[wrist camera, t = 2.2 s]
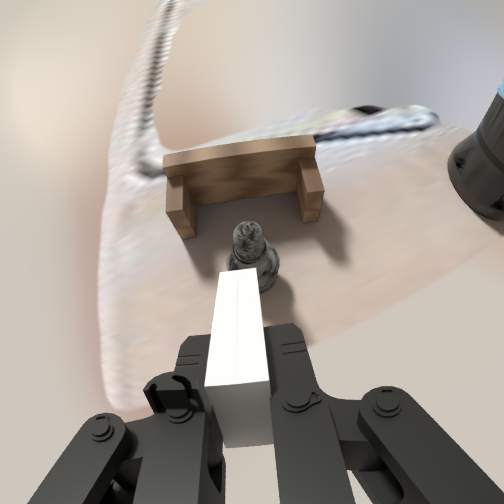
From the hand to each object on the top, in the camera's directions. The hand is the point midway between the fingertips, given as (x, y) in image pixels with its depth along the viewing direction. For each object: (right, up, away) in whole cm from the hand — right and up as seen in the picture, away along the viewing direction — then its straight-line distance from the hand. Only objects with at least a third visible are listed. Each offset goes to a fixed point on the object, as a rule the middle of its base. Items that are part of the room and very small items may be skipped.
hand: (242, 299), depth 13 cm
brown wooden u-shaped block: (0, +8, +29) cm, 30 cm away
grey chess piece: (+1, -1, +25) cm, 25 cm away
